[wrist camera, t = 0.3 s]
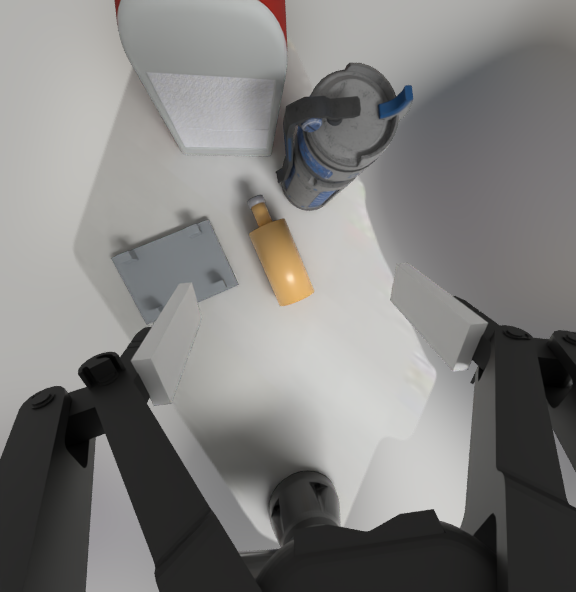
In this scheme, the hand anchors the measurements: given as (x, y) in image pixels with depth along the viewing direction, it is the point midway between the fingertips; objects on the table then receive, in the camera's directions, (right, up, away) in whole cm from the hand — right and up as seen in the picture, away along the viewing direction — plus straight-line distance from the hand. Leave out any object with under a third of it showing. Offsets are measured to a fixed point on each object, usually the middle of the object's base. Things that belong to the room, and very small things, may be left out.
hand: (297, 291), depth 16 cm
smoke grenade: (+2, +21, +32) cm, 38 cm away
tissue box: (-12, +34, +28) cm, 46 cm away
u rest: (-21, +4, +30) cm, 37 cm away
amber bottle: (-3, +8, +32) cm, 34 cm away
